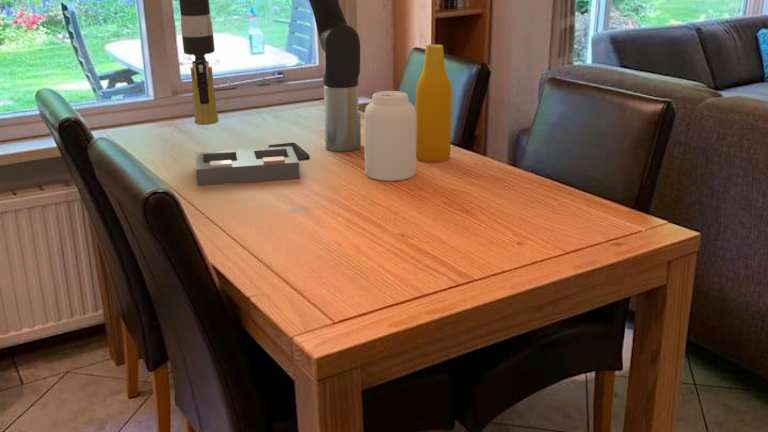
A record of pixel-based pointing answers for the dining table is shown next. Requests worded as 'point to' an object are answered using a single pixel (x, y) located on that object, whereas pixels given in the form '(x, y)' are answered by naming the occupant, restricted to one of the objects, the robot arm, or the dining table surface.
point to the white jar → (390, 137)
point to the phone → (297, 150)
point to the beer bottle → (433, 108)
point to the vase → (204, 112)
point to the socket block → (246, 165)
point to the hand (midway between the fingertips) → (204, 100)
